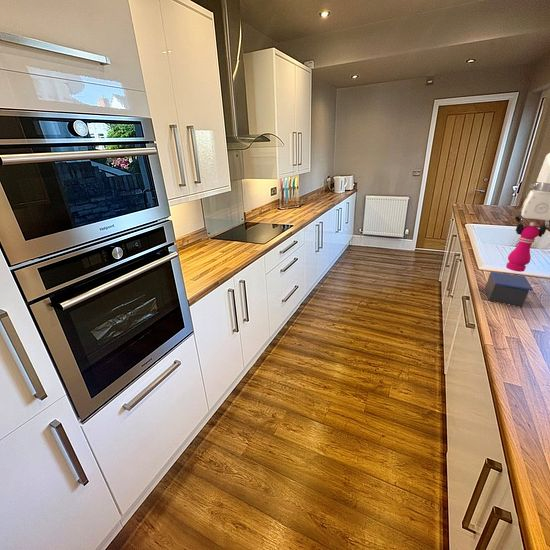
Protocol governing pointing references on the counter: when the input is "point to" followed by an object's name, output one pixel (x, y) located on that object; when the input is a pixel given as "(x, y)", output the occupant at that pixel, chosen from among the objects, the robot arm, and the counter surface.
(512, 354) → the counter surface
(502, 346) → the counter surface
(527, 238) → the pepper mill
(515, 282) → the lid
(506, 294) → the storage box
